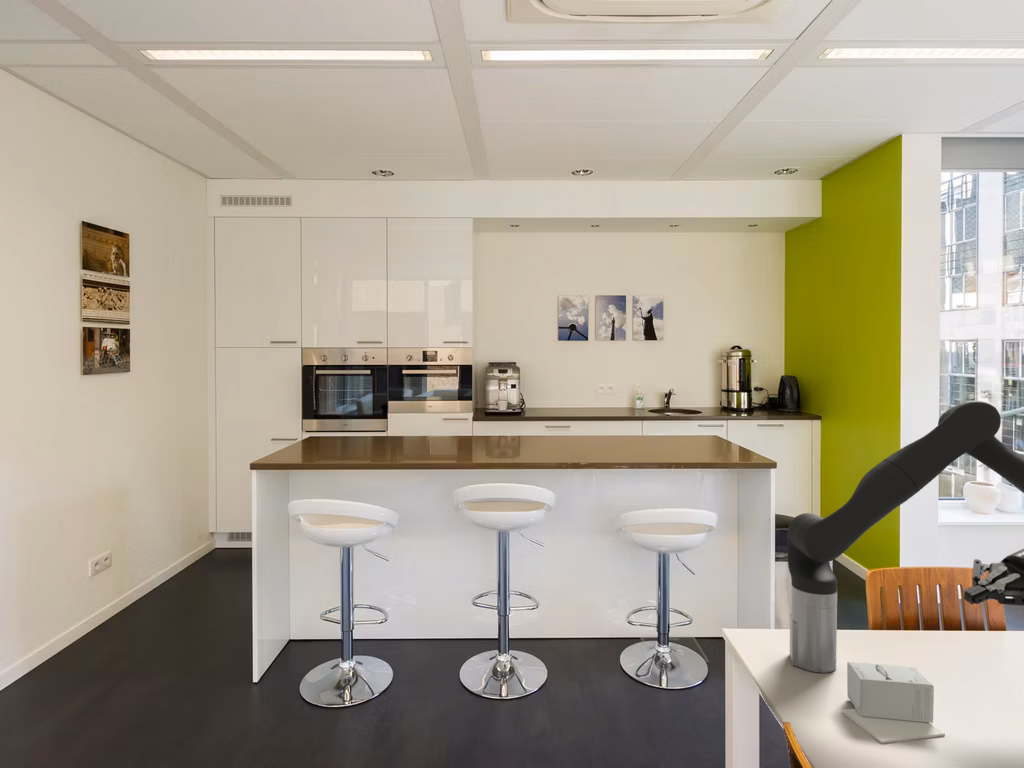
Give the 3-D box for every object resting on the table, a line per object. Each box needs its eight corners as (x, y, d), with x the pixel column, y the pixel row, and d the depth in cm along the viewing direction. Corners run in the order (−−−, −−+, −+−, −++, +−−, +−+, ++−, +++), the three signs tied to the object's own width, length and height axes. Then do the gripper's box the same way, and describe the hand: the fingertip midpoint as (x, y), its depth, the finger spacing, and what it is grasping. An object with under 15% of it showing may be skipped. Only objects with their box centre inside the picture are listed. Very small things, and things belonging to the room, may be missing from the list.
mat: (881, 743, 108) (881, 741, 108) (841, 712, 118) (841, 710, 118) (944, 735, 110) (944, 733, 110) (900, 705, 120) (900, 703, 120)
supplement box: (934, 685, 113) (860, 679, 115) (934, 724, 113) (860, 717, 116) (915, 665, 120) (846, 660, 123) (915, 702, 121) (846, 696, 123)
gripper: (1006, 533, 127) (937, 564, 125) (1076, 569, 115) (1001, 605, 112) (1005, 561, 130) (937, 592, 127) (1073, 600, 118) (1000, 635, 115)
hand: (967, 598), depth 120 cm, fingers closed
